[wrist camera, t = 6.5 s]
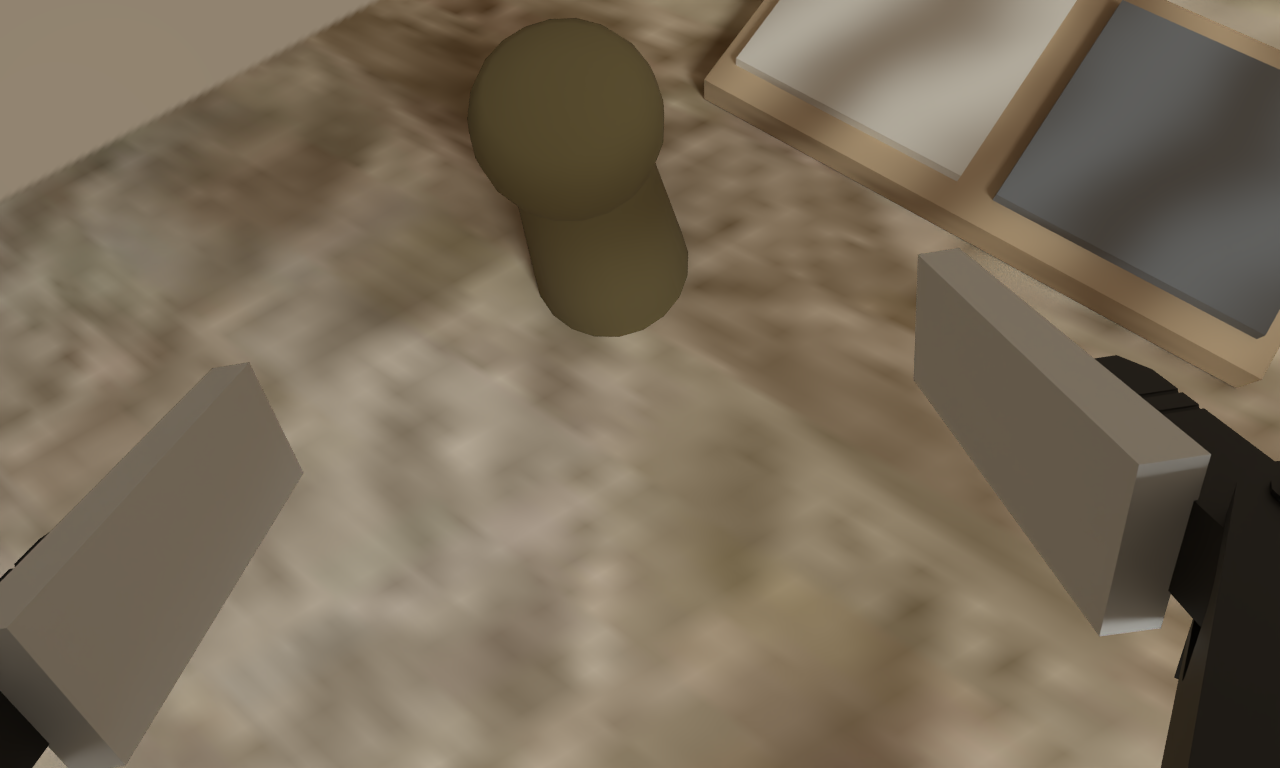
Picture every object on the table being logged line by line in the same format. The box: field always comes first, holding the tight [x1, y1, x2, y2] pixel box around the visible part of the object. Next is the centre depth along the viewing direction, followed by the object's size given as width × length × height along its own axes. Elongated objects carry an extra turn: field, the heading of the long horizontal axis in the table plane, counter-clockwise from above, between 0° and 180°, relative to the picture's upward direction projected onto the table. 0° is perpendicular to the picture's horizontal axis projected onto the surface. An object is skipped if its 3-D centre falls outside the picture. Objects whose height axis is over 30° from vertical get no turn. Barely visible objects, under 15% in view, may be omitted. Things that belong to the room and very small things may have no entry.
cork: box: [467, 18, 688, 337], centre depth 23 cm, size 6×6×11 cm
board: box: [704, 0, 1280, 388], centre depth 28 cm, size 22×12×2 cm, turn 55°
